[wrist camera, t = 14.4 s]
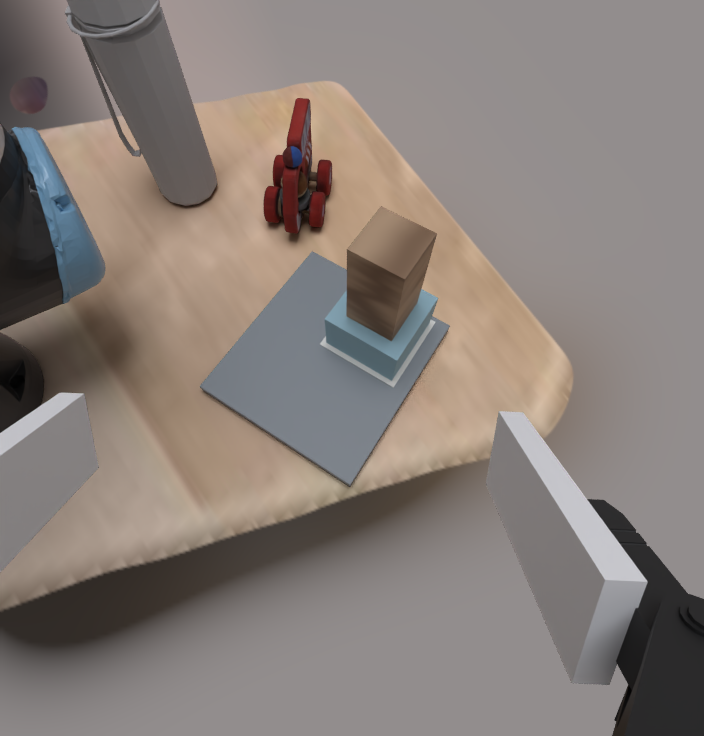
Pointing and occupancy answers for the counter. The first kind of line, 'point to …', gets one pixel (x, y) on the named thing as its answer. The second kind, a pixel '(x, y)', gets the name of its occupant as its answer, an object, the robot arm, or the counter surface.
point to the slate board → (314, 375)
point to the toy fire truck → (298, 177)
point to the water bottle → (147, 91)
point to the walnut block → (387, 271)
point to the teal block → (378, 336)
